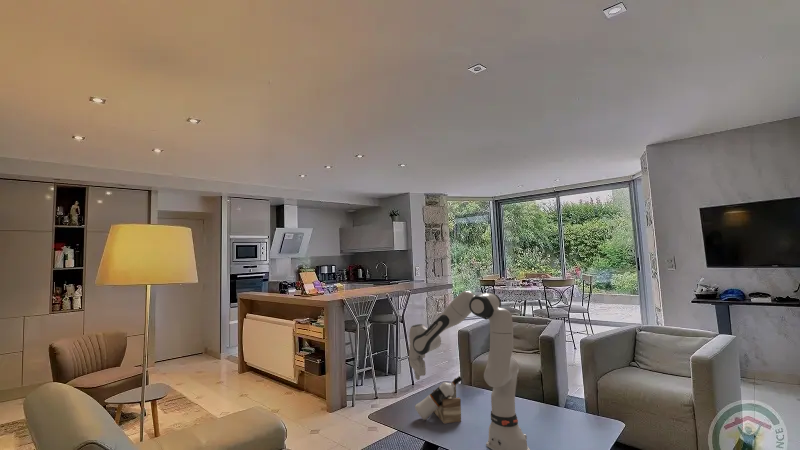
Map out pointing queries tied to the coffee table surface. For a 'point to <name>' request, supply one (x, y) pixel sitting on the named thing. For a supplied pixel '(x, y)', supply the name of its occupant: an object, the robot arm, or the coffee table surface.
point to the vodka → (436, 398)
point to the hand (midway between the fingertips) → (417, 379)
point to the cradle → (449, 410)
